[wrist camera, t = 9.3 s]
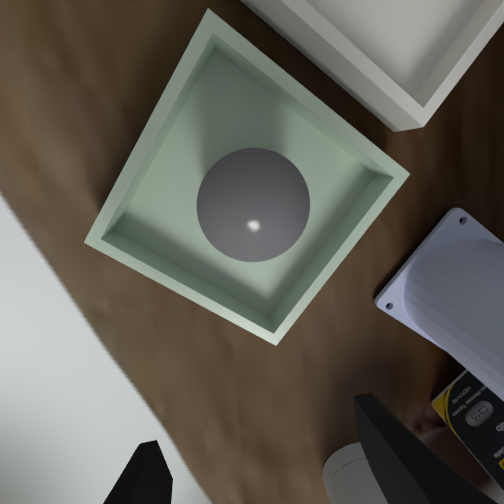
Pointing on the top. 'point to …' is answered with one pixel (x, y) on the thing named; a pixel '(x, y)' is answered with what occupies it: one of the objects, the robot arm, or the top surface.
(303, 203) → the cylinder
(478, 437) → the medicine bottle
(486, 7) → the bin
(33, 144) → the top surface
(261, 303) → the bin
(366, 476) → the cup
